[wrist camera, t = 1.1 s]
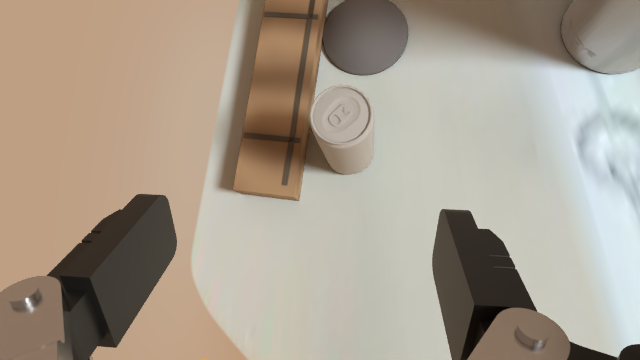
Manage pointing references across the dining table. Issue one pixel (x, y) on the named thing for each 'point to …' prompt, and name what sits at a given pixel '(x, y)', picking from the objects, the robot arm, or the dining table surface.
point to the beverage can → (344, 128)
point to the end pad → (365, 36)
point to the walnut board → (281, 99)
